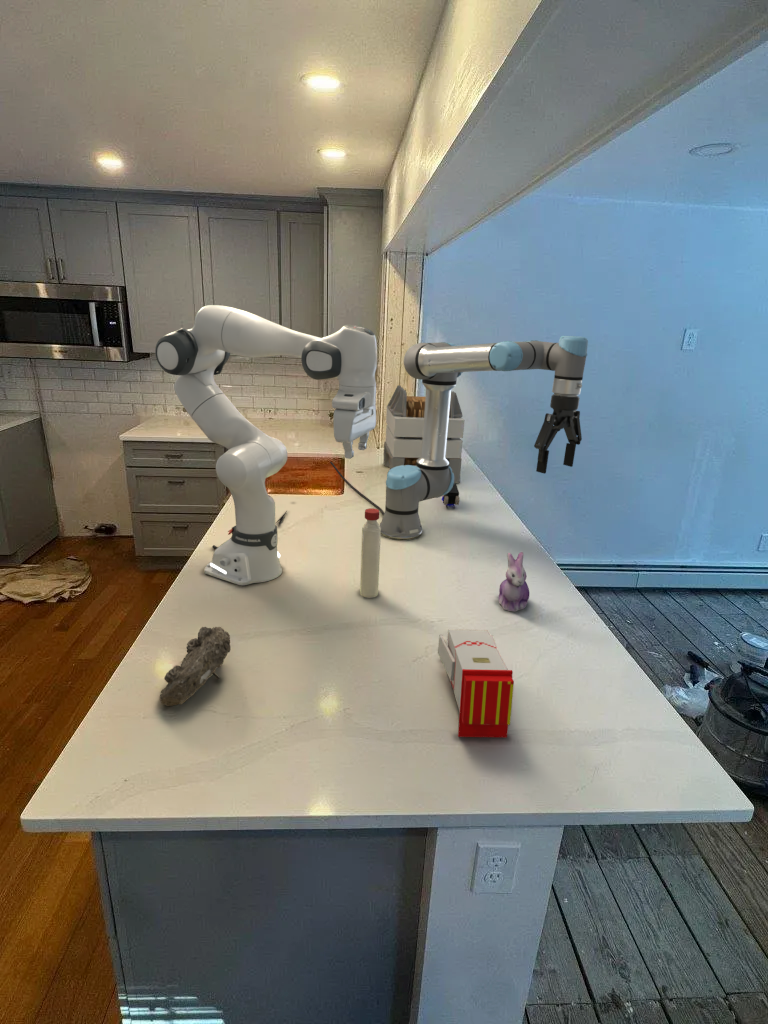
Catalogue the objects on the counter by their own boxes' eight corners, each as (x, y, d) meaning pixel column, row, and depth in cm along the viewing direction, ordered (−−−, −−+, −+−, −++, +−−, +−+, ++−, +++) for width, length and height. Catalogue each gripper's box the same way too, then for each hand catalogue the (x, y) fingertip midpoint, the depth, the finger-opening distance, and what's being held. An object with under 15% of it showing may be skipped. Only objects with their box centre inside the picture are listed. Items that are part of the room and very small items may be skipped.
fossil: (184, 629, 128) (231, 598, 123) (214, 657, 131) (261, 628, 126) (138, 700, 109) (191, 667, 104) (173, 731, 112) (227, 701, 107)
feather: (294, 505, 227) (296, 501, 226) (277, 528, 200) (280, 524, 199) (290, 503, 226) (292, 499, 226) (273, 526, 200) (276, 521, 199)
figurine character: (459, 513, 226) (454, 497, 240) (461, 496, 223) (456, 481, 236) (442, 513, 226) (439, 497, 239) (444, 496, 222) (440, 480, 236)
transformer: (382, 463, 289) (386, 382, 275) (445, 464, 293) (451, 384, 279) (390, 482, 257) (394, 392, 243) (460, 483, 261) (468, 394, 247)
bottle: (358, 589, 159) (361, 509, 151) (376, 588, 160) (379, 508, 152) (361, 598, 155) (364, 515, 146) (379, 597, 156) (383, 515, 147)
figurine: (511, 616, 149) (518, 564, 143) (487, 598, 157) (493, 549, 152) (539, 609, 153) (547, 558, 148) (514, 592, 161) (521, 544, 156)
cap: (363, 515, 151) (363, 508, 151) (377, 515, 152) (378, 508, 151) (365, 520, 148) (366, 513, 147) (380, 520, 148) (380, 512, 148)
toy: (488, 613, 130) (523, 677, 101) (484, 667, 133) (517, 744, 104) (435, 612, 130) (455, 676, 101) (432, 666, 133) (451, 743, 103)
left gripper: (359, 390, 145) (358, 443, 150) (328, 401, 127) (328, 461, 132) (383, 392, 144) (380, 446, 148) (355, 404, 125) (353, 464, 130)
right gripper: (551, 399, 146) (540, 478, 153) (601, 393, 162) (589, 465, 169) (527, 395, 151) (517, 472, 159) (578, 390, 167) (567, 460, 174)
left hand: (355, 453), depth 140 cm, fingers open, 8 cm apart
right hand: (554, 469), depth 164 cm, fingers open, 13 cm apart
